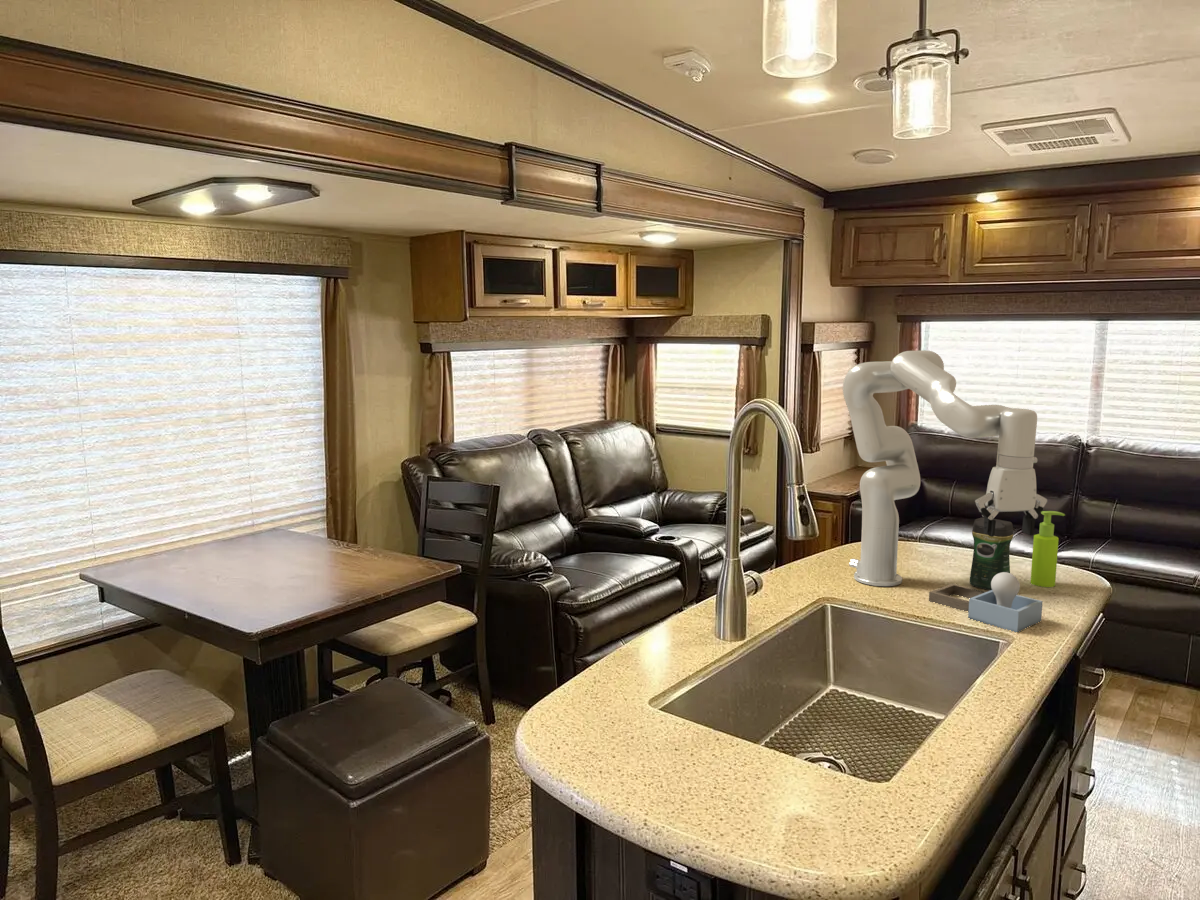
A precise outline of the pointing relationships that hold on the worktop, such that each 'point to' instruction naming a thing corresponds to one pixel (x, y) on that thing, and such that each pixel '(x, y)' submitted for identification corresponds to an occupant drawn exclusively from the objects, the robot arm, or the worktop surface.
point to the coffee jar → (990, 552)
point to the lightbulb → (1005, 588)
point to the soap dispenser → (1045, 553)
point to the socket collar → (944, 597)
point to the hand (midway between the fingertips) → (1008, 534)
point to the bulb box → (1005, 611)
